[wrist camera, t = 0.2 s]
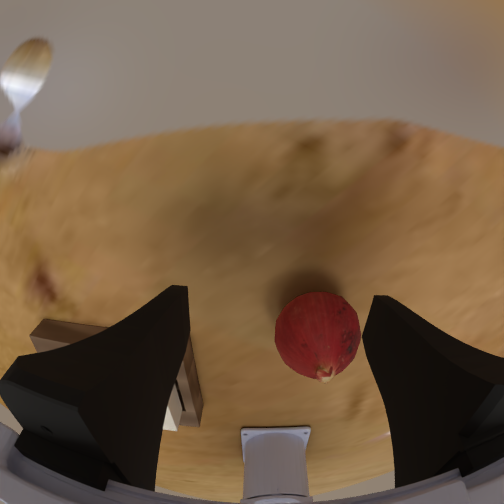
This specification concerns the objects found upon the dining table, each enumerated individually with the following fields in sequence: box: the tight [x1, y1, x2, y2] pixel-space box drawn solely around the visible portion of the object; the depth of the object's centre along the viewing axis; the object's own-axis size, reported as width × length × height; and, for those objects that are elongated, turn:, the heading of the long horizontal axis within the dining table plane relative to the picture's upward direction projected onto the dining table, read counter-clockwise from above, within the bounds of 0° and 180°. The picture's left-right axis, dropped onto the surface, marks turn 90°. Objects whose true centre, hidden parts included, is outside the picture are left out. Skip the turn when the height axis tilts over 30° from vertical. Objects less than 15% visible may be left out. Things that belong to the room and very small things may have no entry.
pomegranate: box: [275, 292, 361, 384], centre depth 19 cm, size 6×6×8 cm
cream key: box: [163, 384, 182, 431], centre depth 22 cm, size 4×4×3 cm
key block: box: [29, 319, 203, 427], centre depth 25 cm, size 10×16×3 cm, turn 91°
